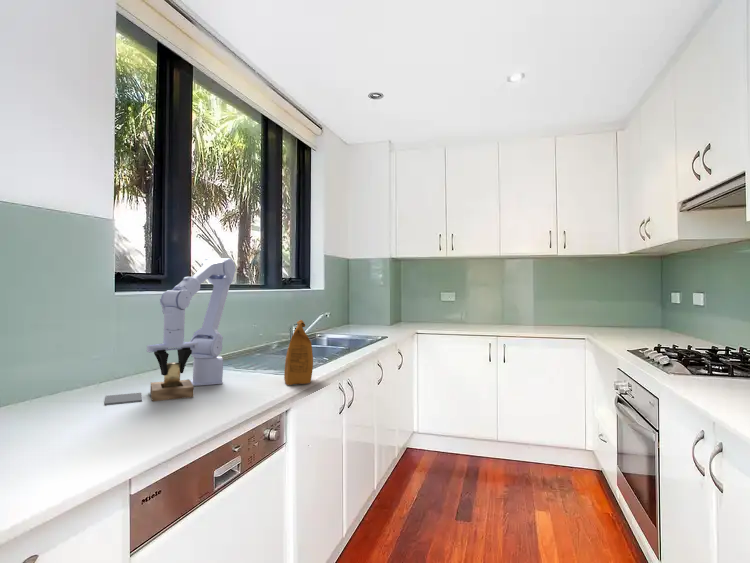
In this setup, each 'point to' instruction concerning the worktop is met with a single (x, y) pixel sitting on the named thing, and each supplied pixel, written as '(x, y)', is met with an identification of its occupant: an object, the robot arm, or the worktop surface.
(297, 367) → the coffee package
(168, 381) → the end cover
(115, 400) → the mat
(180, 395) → the housing
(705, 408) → the worktop surface
